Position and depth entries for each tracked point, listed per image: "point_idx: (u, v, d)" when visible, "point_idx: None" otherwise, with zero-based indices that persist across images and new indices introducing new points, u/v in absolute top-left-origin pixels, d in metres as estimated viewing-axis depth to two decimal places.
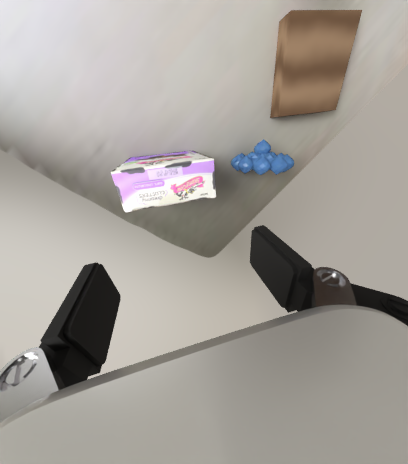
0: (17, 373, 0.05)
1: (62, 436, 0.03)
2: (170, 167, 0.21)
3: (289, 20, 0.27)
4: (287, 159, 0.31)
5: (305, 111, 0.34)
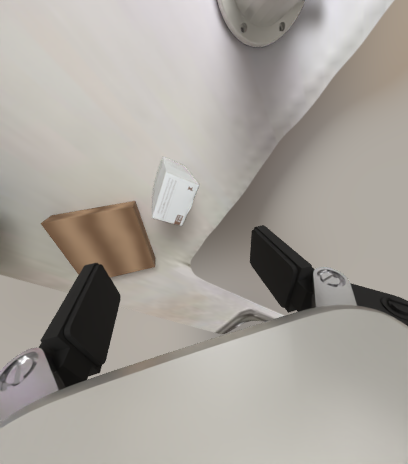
0: (17, 373, 0.05)
1: (62, 436, 0.03)
2: None
3: (127, 207, 0.27)
4: None
5: (65, 253, 0.28)
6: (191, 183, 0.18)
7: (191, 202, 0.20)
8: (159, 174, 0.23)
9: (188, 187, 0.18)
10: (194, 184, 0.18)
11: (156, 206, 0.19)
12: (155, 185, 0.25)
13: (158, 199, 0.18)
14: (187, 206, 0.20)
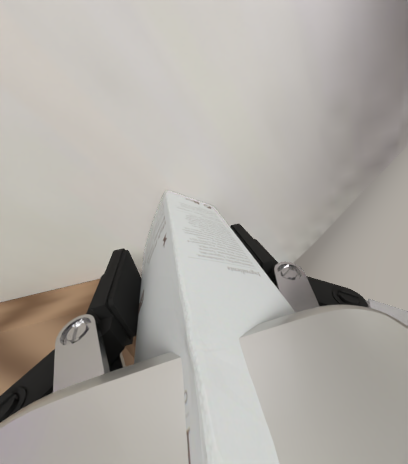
0: (74, 333, 0.06)
1: (62, 436, 0.03)
2: None
3: (81, 309, 0.11)
4: None
5: None
6: None
7: None
8: (156, 262, 0.07)
9: None
10: None
11: None
12: (146, 276, 0.09)
13: None
14: None
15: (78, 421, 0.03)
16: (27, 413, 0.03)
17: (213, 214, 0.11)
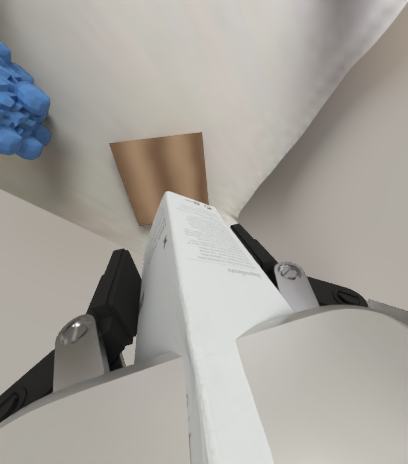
0: (74, 333, 0.06)
1: (62, 436, 0.03)
2: None
3: (195, 133, 0.26)
4: (3, 134, 0.16)
5: (126, 185, 0.27)
6: None
7: None
8: (157, 263, 0.07)
9: None
10: None
11: None
12: (146, 277, 0.09)
13: None
14: None
15: (78, 421, 0.03)
16: (27, 413, 0.03)
17: (213, 215, 0.11)
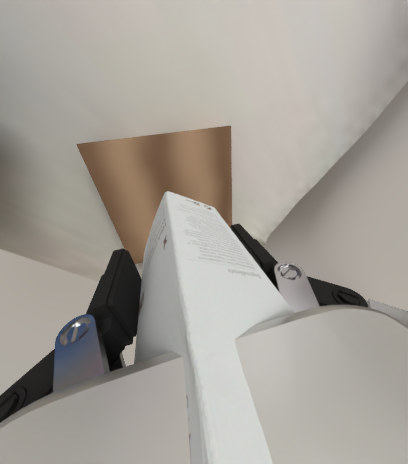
0: (74, 333, 0.06)
1: (62, 436, 0.03)
2: None
3: (220, 127, 0.16)
4: None
5: (110, 210, 0.17)
6: None
7: None
8: (156, 264, 0.07)
9: None
10: None
11: None
12: (146, 277, 0.09)
13: None
14: None
15: (78, 421, 0.03)
16: (27, 413, 0.03)
17: (213, 215, 0.11)
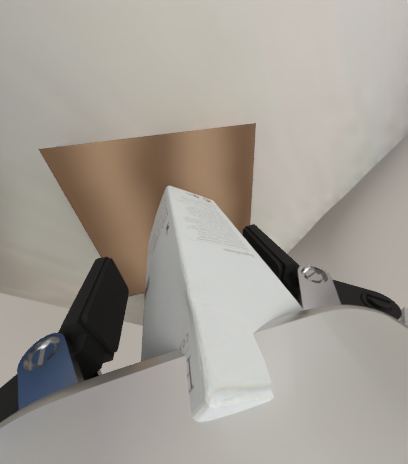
0: (41, 355, 0.05)
1: (62, 436, 0.03)
2: None
3: None
4: None
5: (93, 236, 0.13)
6: None
7: None
8: (160, 248, 0.08)
9: None
10: None
11: None
12: (151, 264, 0.10)
13: None
14: None
15: (78, 421, 0.03)
16: (27, 413, 0.03)
17: (212, 207, 0.12)
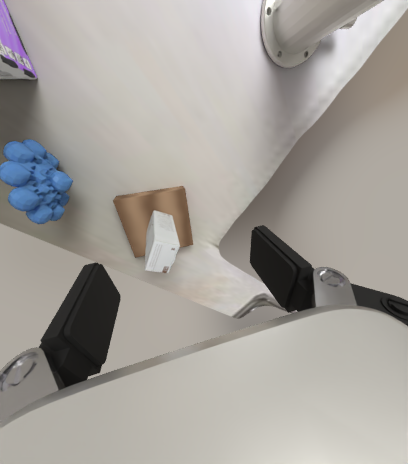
0: (17, 373, 0.05)
1: (62, 436, 0.03)
2: None
3: (180, 189, 0.33)
4: (42, 212, 0.23)
5: (125, 228, 0.34)
6: (173, 245, 0.25)
7: (174, 257, 0.26)
8: (150, 230, 0.29)
9: (171, 248, 0.25)
10: (176, 246, 0.25)
11: (148, 262, 0.25)
12: (147, 236, 0.31)
13: (149, 258, 0.25)
14: (171, 260, 0.26)
15: (78, 421, 0.03)
16: (27, 413, 0.03)
17: (169, 218, 0.33)
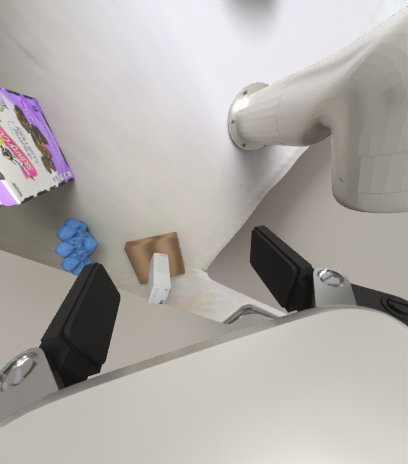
0: (17, 373, 0.05)
1: (62, 436, 0.03)
2: None
3: (173, 237, 0.44)
4: (80, 268, 0.34)
5: (133, 265, 0.46)
6: (166, 287, 0.36)
7: (167, 294, 0.38)
8: (151, 271, 0.41)
9: (165, 289, 0.36)
10: (168, 287, 0.36)
11: (149, 298, 0.37)
12: (149, 274, 0.43)
13: (150, 296, 0.37)
14: (165, 296, 0.38)
15: (78, 421, 0.03)
16: (27, 413, 0.03)
17: (165, 259, 0.44)
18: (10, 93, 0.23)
